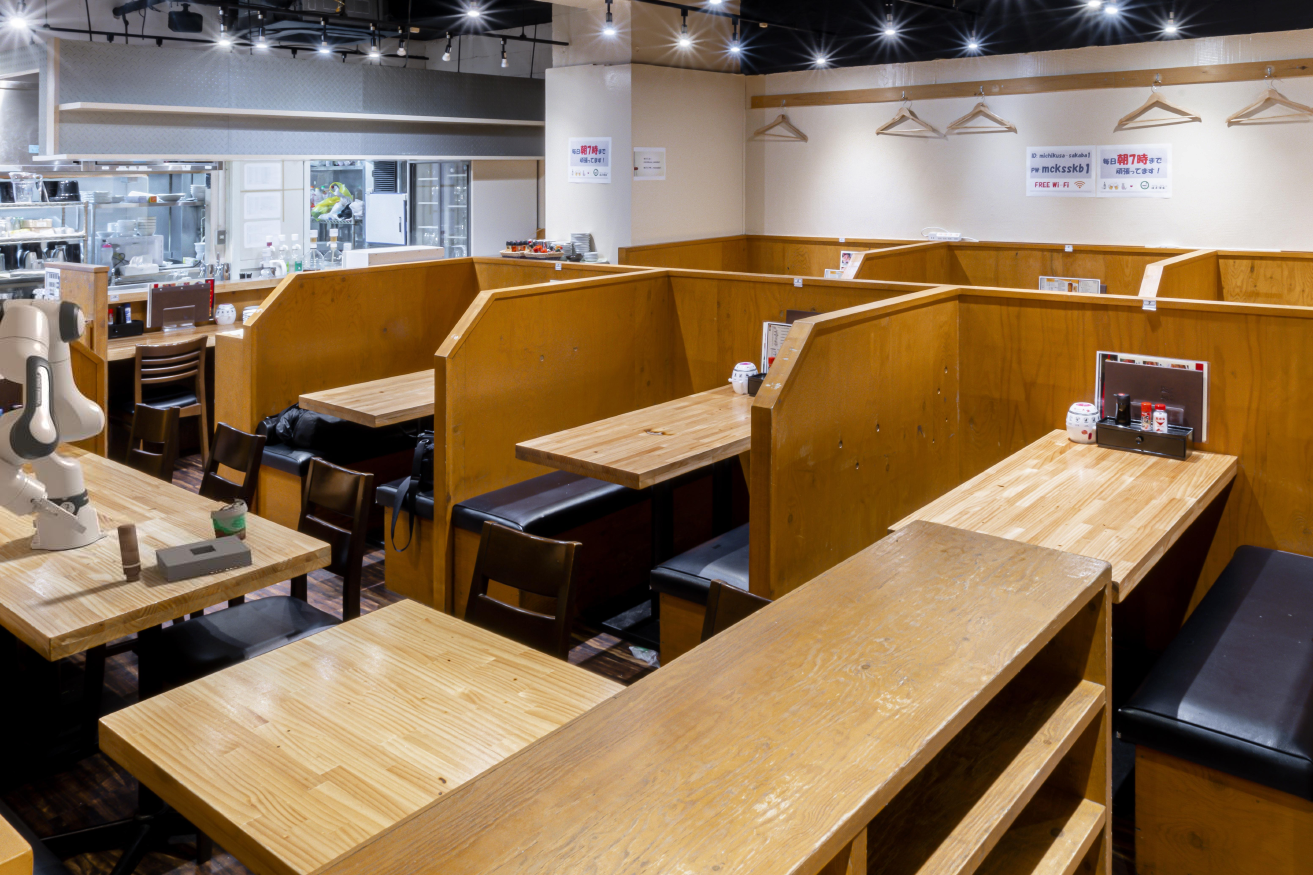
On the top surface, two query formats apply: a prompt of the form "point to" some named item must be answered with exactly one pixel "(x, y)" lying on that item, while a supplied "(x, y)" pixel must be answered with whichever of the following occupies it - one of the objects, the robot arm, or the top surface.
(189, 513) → the top surface
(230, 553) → the board
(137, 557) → the peg
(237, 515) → the food container
